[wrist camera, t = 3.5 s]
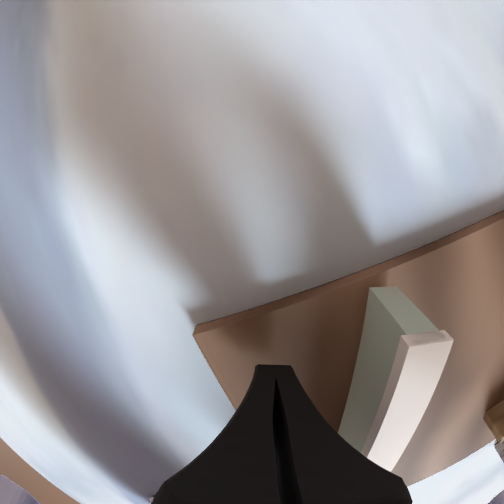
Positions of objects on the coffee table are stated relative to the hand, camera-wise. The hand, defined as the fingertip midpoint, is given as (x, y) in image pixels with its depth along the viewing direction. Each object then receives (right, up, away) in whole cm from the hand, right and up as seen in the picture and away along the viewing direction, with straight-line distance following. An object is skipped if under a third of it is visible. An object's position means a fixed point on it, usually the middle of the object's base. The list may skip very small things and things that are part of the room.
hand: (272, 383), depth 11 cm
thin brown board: (+10, -5, +4) cm, 12 cm away
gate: (+4, -4, +2) cm, 6 cm away
